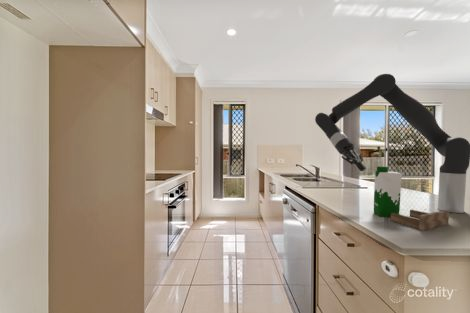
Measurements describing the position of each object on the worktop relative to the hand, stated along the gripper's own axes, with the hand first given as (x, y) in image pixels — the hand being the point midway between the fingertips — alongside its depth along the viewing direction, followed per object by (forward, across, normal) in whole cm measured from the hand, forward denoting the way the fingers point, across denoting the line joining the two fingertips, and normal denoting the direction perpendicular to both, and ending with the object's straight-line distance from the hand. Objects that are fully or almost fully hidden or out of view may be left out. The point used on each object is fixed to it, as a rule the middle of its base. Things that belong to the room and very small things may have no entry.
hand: (363, 170), depth 114 cm
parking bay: (+28, 0, -3) cm, 28 cm away
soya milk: (+20, 0, +5) cm, 21 cm away
